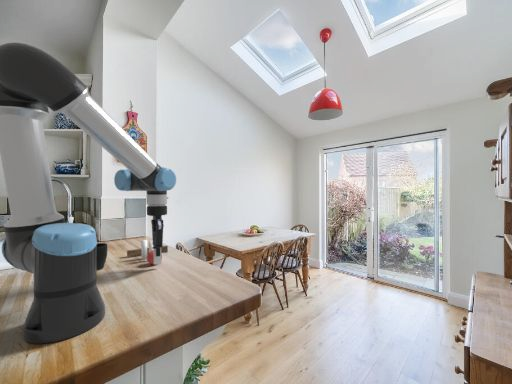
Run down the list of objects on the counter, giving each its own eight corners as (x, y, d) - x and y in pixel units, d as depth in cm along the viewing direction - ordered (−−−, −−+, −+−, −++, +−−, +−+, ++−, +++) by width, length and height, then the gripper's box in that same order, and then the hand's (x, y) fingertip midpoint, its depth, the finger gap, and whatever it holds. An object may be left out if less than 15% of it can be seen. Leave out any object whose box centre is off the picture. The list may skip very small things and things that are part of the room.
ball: (160, 246, 104) (161, 259, 105) (145, 249, 101) (146, 262, 102) (162, 251, 99) (163, 264, 100) (147, 254, 96) (148, 268, 97)
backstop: (167, 252, 120) (167, 246, 120) (127, 257, 110) (127, 251, 110) (166, 251, 121) (166, 245, 121) (127, 256, 112) (127, 250, 112)
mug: (107, 262, 104) (106, 240, 103) (107, 269, 94) (107, 246, 94) (84, 265, 99) (83, 242, 99) (82, 273, 89) (81, 248, 89)
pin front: (155, 260, 106) (155, 241, 105) (149, 261, 104) (149, 242, 104) (154, 259, 108) (154, 240, 107) (148, 260, 106) (148, 241, 106)
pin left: (147, 259, 108) (147, 240, 108) (141, 259, 107) (141, 241, 106) (146, 257, 110) (146, 239, 110) (141, 258, 109) (141, 240, 108)
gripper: (170, 205, 91) (170, 266, 91) (163, 203, 102) (164, 258, 102) (149, 206, 87) (149, 270, 87) (144, 204, 98) (145, 260, 98)
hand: (157, 263), depth 95 cm, fingers closed
